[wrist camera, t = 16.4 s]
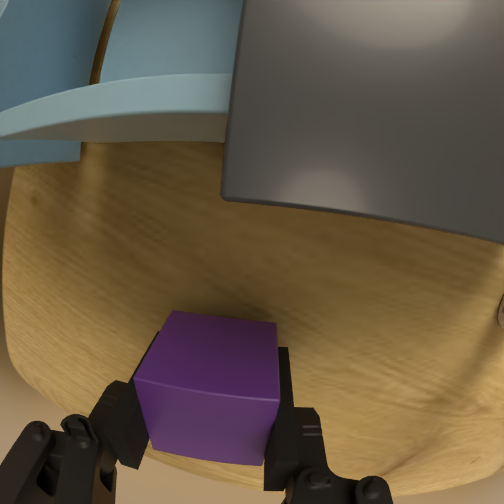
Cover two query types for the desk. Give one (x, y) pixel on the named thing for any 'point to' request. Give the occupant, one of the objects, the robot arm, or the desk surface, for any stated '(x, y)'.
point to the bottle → (501, 314)
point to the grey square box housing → (371, 111)
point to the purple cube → (211, 388)
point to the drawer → (112, 75)
